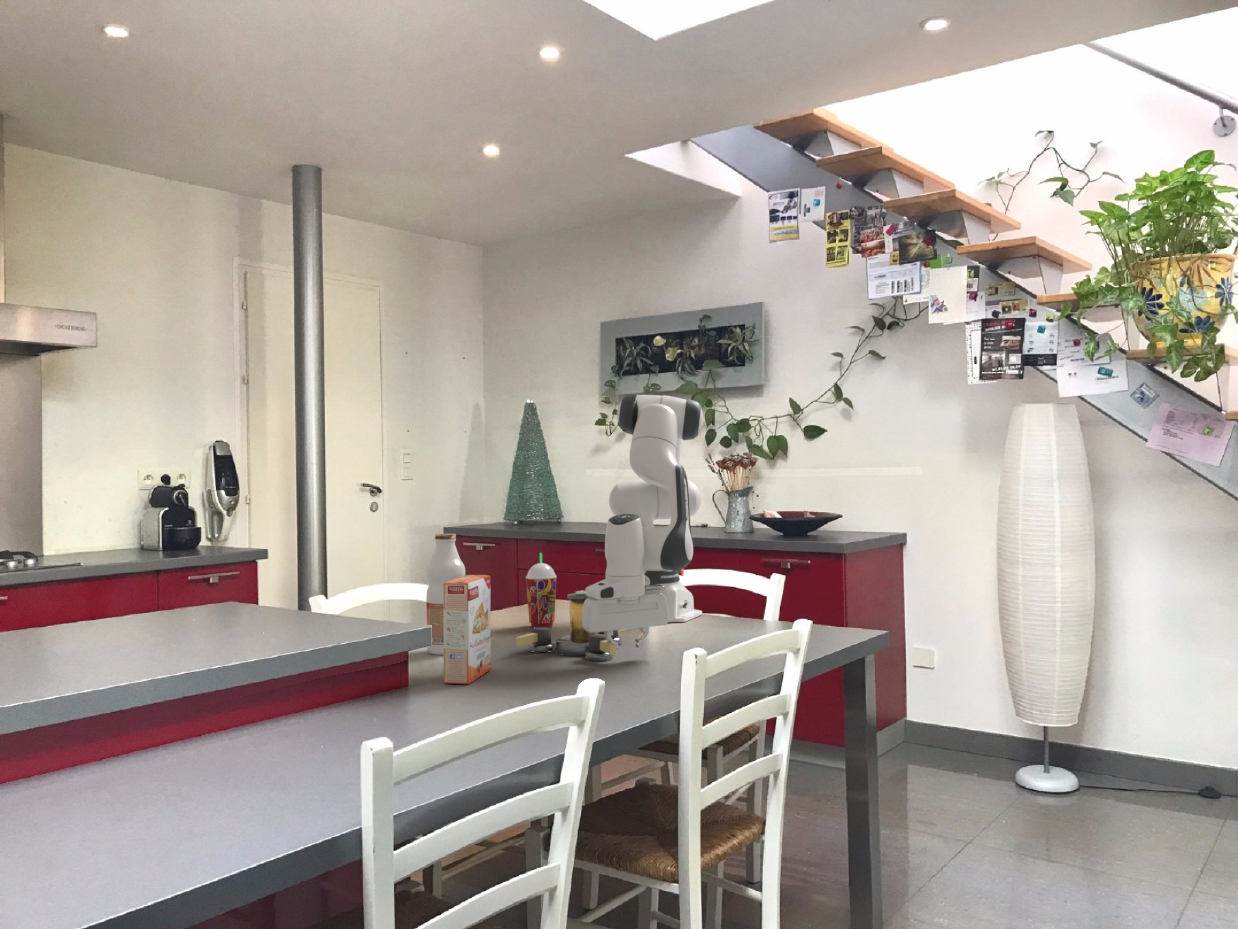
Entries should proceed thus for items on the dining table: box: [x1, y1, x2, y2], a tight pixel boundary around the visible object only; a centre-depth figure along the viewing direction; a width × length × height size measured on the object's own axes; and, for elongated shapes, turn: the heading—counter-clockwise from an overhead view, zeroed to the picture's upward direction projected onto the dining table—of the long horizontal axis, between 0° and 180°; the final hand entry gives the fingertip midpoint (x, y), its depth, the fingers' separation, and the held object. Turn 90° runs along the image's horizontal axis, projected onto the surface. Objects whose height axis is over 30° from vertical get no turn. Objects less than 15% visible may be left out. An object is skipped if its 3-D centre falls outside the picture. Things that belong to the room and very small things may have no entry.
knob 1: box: [514, 627, 552, 647], centre depth 232 cm, size 11×5×3 cm, turn 146°
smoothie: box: [525, 552, 557, 628], centre depth 267 cm, size 8×8×20 cm
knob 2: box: [589, 633, 617, 656], centre depth 222 cm, size 11×5×3 cm, turn 22°
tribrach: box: [527, 590, 622, 662], centre depth 236 cm, size 21×24×14 cm
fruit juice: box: [425, 533, 466, 656], centre depth 235 cm, size 9×9×28 cm
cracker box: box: [443, 574, 492, 685], centre depth 207 cm, size 14×6×21 cm, turn 168°
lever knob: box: [597, 629, 629, 638], centre depth 244 cm, size 11×5×3 cm, turn 144°
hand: (626, 648), depth 222 cm, fingers open, 5 cm apart
